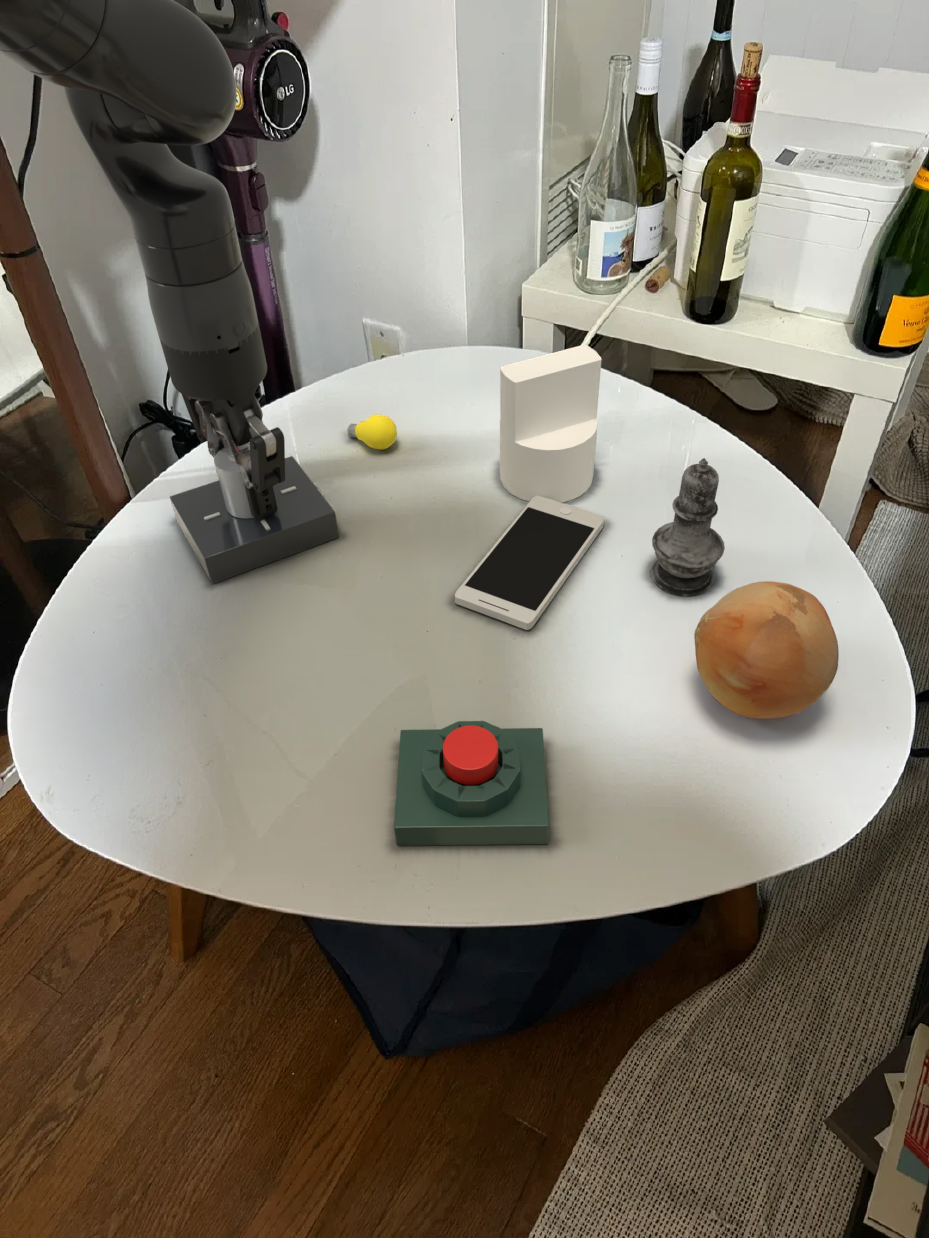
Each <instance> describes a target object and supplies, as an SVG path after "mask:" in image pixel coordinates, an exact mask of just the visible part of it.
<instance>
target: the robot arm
mask: <svg viewBox="0 0 929 1238" xmlns="http://www.w3.org/2000/svg"><path fill="white" fill-rule="evenodd" d="M227 53H228V52H227V51H226V49H225V48H224V46H223V44H222V42H221V41H220V39H219V38H218V37H217V35H216V34H215V33H214V31H213V30H212V29H211V28H210V27H209V26H208V24H206V23H205V21H203V20H202V19H201V18H200V17H199V16H198V15H197V14H195V13H193V12H192V11H191V10H190V9H188V8H186V7H185V6H183V5H182V4H181V3H179V2H178V1H176V0H0V54H2V55H3V56H5V57H6V58H8V59H10V60H11V61H12V62H14V63H15V64H17V65H19V66H20V67H22V68H24V69H25V70H26V71H28V72H29V73H31V74H33V75H35V76H37V77H38V78H40V79H42V80H44V81H47V82H49V83H52V84H54V85H57V86H60V87H63V91H64V95H65V99H66V102H67V104H68V107H69V110H70V112H71V116H72V117H73V120H74V122H75V124H76V126H77V128H78V129H79V132H80V134H81V136H82V137H83V139H84V141H85V142H86V144H87V146H88V149H90V151H91V153H92V155H93V157H94V158H95V160H96V162H97V164H98V166H99V167H100V169H101V171H102V172H103V175H105V178H106V180H107V181H108V183H109V185H110V187H111V189H112V191H113V192H114V193H113V194H115V196H116V198H117V200H118V201H119V202H120V204H121V206H122V207H123V209H124V211H125V213H126V215H127V216H128V218H129V221H130V225H131V229H132V232H133V233H132V234H133V236H134V237H133V238H134V240H135V244H136V248H137V251H138V254H139V259H140V262H141V265H142V270H143V272H144V276H145V280H146V281H145V282H146V286H147V296H148V301H149V306H150V310H151V314H152V318H153V321H154V324H155V327H156V332H157V335H158V338H159V341H160V346H161V349H162V353H163V356H164V360H165V363H166V367H167V370H168V373H169V377H170V380H171V383H172V385H173V387H174V389H175V390H176V391H177V392H178V393H180V394H181V397H182V399H183V402H184V404H185V407H186V409H187V413H188V415H189V418H190V420H191V423H192V425H193V428H194V430H195V434H196V437H197V439H198V440H199V441H200V442H201V443H202V444H204V443H206V442H207V443H206V444H207V449H208V453H209V454H210V455H211V457H212V458H213V459H214V458H215V455H216V454H217V453H218V452H219V451H220V450H221V449H223V448H224V447H225V450H226V452H227V455H228V458H229V460H230V461H231V462H233V463H235V464H237V465H238V468H239V470H240V473H241V476H242V478H243V482H244V486H245V490H246V494H247V498H248V502H249V506H250V510H251V514H252V516H253V517H254V518H255V519H256V520H259V521H260V520H262V519H265V518H267V517H269V516H271V515H273V514H274V513H276V511H277V504H276V499H275V495H274V490H273V486H274V485H276V484H278V483H281V482H283V481H285V458H286V447H285V446H286V445H285V443H286V442H285V440H286V439H285V435H284V433H283V431H282V429H281V428H280V427H279V426H277V427H274V428H272V429H270V430H269V428H267V426H266V425H265V424H264V421H263V416H264V413H263V410H262V407H261V404H260V402H259V400H258V399H257V397H256V396H255V395H256V391H257V389H258V387H259V386H260V385H261V384H262V382H263V380H265V378H266V375H267V372H268V364H267V359H266V353H265V349H264V348H265V347H264V343H263V338H262V333H261V328H260V323H259V319H258V314H257V307H256V303H255V298H254V293H253V288H252V285H251V282H250V278H249V276H248V273H247V271H246V267H245V265H244V264H245V263H244V260H243V257H242V252H241V245H240V242H239V241H240V240H239V236H238V231H237V227H236V222H235V221H236V220H235V217H234V216H235V215H234V212H233V208H232V202H231V199H230V196H229V192H228V191H227V188H226V186H225V185H224V184H223V183H222V182H221V181H220V180H219V179H218V178H216V177H215V176H214V175H211V174H209V173H207V172H205V171H201V170H199V169H197V168H194V167H193V166H190V165H188V164H186V163H184V162H183V161H181V160H179V158H177V157H176V156H175V155H174V154H173V152H172V151H171V149H170V148H169V146H168V145H170V146H171V145H172V146H183V147H196V146H203V145H205V144H208V143H211V142H213V141H214V140H216V139H217V138H218V137H220V136H221V135H222V134H223V133H224V132H225V131H226V129H227V128H228V127H229V125H230V123H231V121H232V119H233V117H234V114H235V111H236V106H237V81H236V76H235V72H234V68H233V66H232V62H231V60H230V58H229V56H228V54H227ZM247 443H250V444H249V445H248V446H247V447H246V448H244V449H242V450H240V451H237V448H236V447H237V446H242V445H244V444H247ZM250 460H251V471H252V472H251V471H250V468H249V466H248V462H249V461H250Z"/></svg>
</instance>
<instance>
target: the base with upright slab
mask: <svg viewBox="0 0 929 1238" xmlns="http://www.w3.org/2000/svg"><path fill="white" fill-rule="evenodd" d="M602 360H603V359H602V357H601V356H600V355H599V353H598V352H597V350H595V349H594V348H592V347H590V346H589V345H587V344H581V345H578V346H573V347H570V348H566V349H562V350H559V351H556V352H555V351H554V352H550V353H547V354H543V355H539V356H536V357H532V358H528V359H523V360H521V361H517V362H513V363H509V364H505V365H500V367H499V378H500V379H499V381H500V382H499V387H500V391H499V397H500V398H499V399H500V400H499V402H500V403H499V405H500V408H499V409H500V411H499V413H500V415H499V417H500V418H499V477H500V483H501V484H502V486H503V487H504V489H505V490H506V491H507V492H509V493H510V494H511V495H513V496H514V497H516V498H517V499H520V500H523V501H525V502H528V503H529V502H530V500H531V499H532V498H533V497H534V496H537V495H539V496H542V497H545V498H548V499H551V500H555V501H558V502H561V503H565V502H570V501H572V500H575V499H576V498H579V497H581V496H582V495H583V494H585V493H586V492H587V491H588V490H589V488H590V487H591V486H592V485H593V480H594V473H595V472H594V471H595V462H596V461H595V460H596V449H597V448H596V447H597V439H598V437H597V436H598V427H599V426H598V425H599V423H598V418H597V417H598V408H599V407H598V406H599V396H600V395H599V394H600V393H599V392H600V383H601V372H602V371H601V370H602Z"/></svg>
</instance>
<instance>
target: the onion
mask: <svg viewBox="0 0 929 1238" xmlns="http://www.w3.org/2000/svg"><path fill="white" fill-rule="evenodd" d="M693 634H694V637H693V638H694V651H695V662H696V663H695V664H696V668H697V672H698V674H699V676H700V678H701V681H702V682H703V684H704V685H705V687H706V689H707V691H709V693H710V694H711V696H713V697H714V698H715V700H716V701H717V702H718V703H719V704H721V705H722V706H723V707H725V708H726V709H727V710H728V711H731V712H733V713H734V714H736V715H738V716H742V717H747V718H752V719H763V720H767V719H768V720H769V719H772V720H773V719H781V718H786V717H790V716H794V715H796V714H799V713H801V712H803V711H804V710H806V709H808V708H810V707H811V706H812V705H813V704H815V703H816V702H817V701H818V700H819V699H820V698H821V697H822V696H823V694H824V693H825V692H826V691H828V689H829V688H830V687H831V686H832V683H833V682H834V680H835V677H836V675H837V672H838V668H839V659H840V657H839V655H840V654H839V643H838V638H837V635H836V631H835V629H834V626H833V625H832V622H831V619H830V617H829V614H828V612H827V610H826V608H825V606H824V604H822V602H821V601H820V600H819V599H818V598H817V597H816V596H815V595H814V594H813V593H811V592H809V591H807V590H806V589H803V588H801V587H798V586H796V585H793V584H790V583H786V582H780V581H773V580H772V581H770V580H764V581H757V582H752V583H748V584H746V585H742V586H740V587H737V588H735V589H733V590H730V591H729V592H728V593H727V594H725V595H723V596H722V597H721V598H720V599H719V600H718V601H717V602H716V603H715V604H714V605H712V607H710V608H709V609H708V610H706V612H705V613H704V614H703V615H702V616H701V618H700V619H699V621H698V623H697V625H696V628H695V630H694V633H693Z"/></svg>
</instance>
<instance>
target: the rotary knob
mask: <svg viewBox="0 0 929 1238" xmlns="http://www.w3.org/2000/svg"><path fill="white" fill-rule="evenodd" d="M249 444H250V442H249V443H247V444H244V445H242V446H237V447H236V448H237V451H240V450H242V449H244V448H246V447H247V446H248V445H249ZM213 464H214V469H215V471H216V475H217V478H218V479H217V480H219V483H220V487H221V490H222V494H223V498H224V502H225V505H226V509H227V511H228V512H229V513H230V514H231V515H232V516H235V517H237V518H244V519H248V518H254V517H253V516H252V514H251V510H250V506H249V502H248V498H247V494H246V490H245V486H244V482H243V478H242V476H241V473H240V470H239V468H238V465H237V464H235V463H233V462H231V461H230V460H229V458H228V455H227V452H226V450H225V447H224V448H223V449H221V450H220V451H219V452H218V453H217V454H216V455H215V458H214V457H213ZM248 466H249V468H250V471H251V460H250V461H249V462H248ZM251 472H252V471H251ZM273 490H274V489H273ZM274 495H275V494H274Z"/></svg>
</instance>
